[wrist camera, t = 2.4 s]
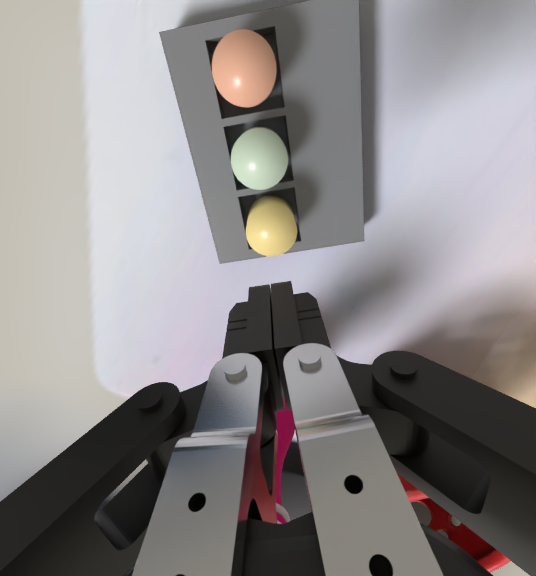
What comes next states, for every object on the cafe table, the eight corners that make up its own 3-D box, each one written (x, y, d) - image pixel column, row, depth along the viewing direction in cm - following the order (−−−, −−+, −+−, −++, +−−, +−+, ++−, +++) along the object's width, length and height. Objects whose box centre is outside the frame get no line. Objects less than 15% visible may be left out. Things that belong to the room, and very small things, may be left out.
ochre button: (290, 191, 21) (293, 202, 18) (295, 235, 22) (300, 252, 19) (244, 199, 21) (241, 211, 18) (252, 242, 22) (251, 259, 20)
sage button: (280, 121, 19) (283, 123, 16) (287, 175, 20) (291, 184, 17) (230, 131, 19) (224, 134, 16) (240, 183, 20) (237, 194, 18)
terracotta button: (269, 36, 17) (270, 22, 14) (278, 102, 18) (281, 100, 16) (213, 47, 17) (204, 36, 14) (226, 111, 18) (220, 112, 16)
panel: (349, 2, 17) (358, -11, 16) (356, 231, 23) (364, 240, 22) (169, 39, 18) (159, 32, 16) (222, 252, 24) (219, 263, 22)
